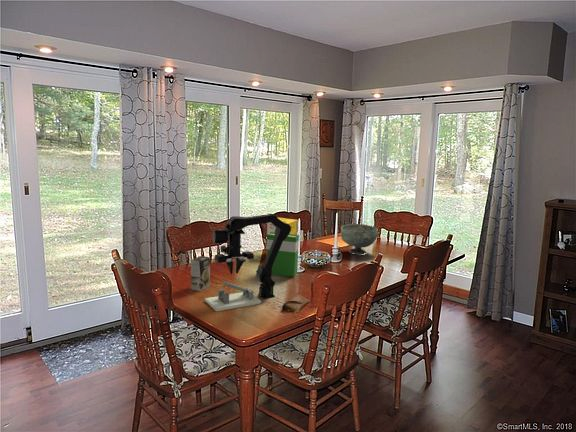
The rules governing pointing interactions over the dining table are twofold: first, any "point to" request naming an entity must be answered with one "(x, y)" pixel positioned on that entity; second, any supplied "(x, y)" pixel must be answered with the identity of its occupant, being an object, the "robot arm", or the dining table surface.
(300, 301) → the sunglasses case
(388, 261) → the dining table surface
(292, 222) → the packaging box
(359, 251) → the decorative bowl
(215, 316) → the dining table surface
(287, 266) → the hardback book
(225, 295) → the base
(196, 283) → the coffee box
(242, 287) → the bar
